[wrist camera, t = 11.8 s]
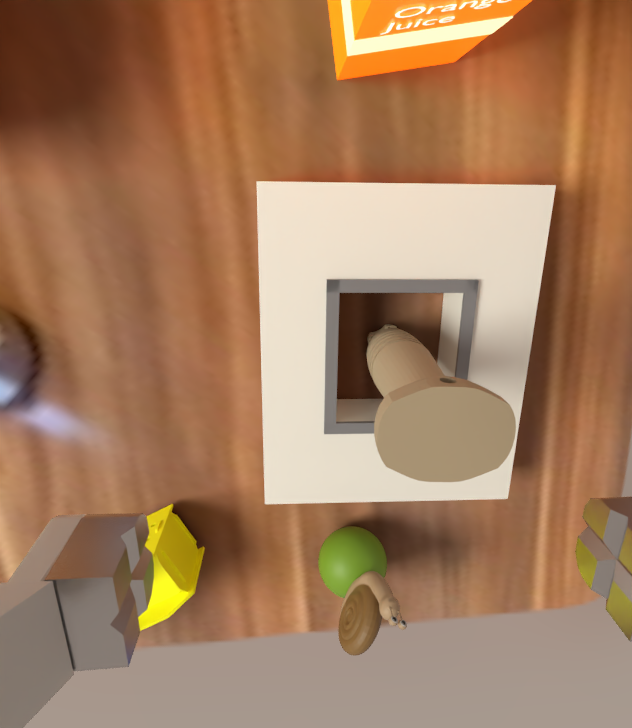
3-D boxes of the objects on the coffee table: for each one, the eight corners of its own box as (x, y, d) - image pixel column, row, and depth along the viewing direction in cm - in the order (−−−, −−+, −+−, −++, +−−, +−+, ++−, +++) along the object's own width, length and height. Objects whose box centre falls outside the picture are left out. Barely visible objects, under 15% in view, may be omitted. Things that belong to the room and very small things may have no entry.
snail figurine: (398, 518, 42) (438, 637, 31) (360, 574, 44) (386, 707, 32) (341, 493, 41) (362, 608, 30) (305, 552, 43) (312, 682, 31)
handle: (424, 375, 38) (506, 482, 24) (340, 373, 38) (373, 481, 24) (432, 313, 37) (524, 388, 22) (344, 310, 36) (382, 385, 22)
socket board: (260, 183, 33) (256, 181, 29) (526, 186, 34) (558, 185, 30) (267, 475, 40) (264, 506, 36) (487, 470, 41) (509, 501, 37)
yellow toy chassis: (171, 493, 40) (143, 566, 33) (208, 544, 42) (190, 625, 34) (7, 574, 42) (-57, 662, 34) (50, 620, 44) (-3, 714, 36)
